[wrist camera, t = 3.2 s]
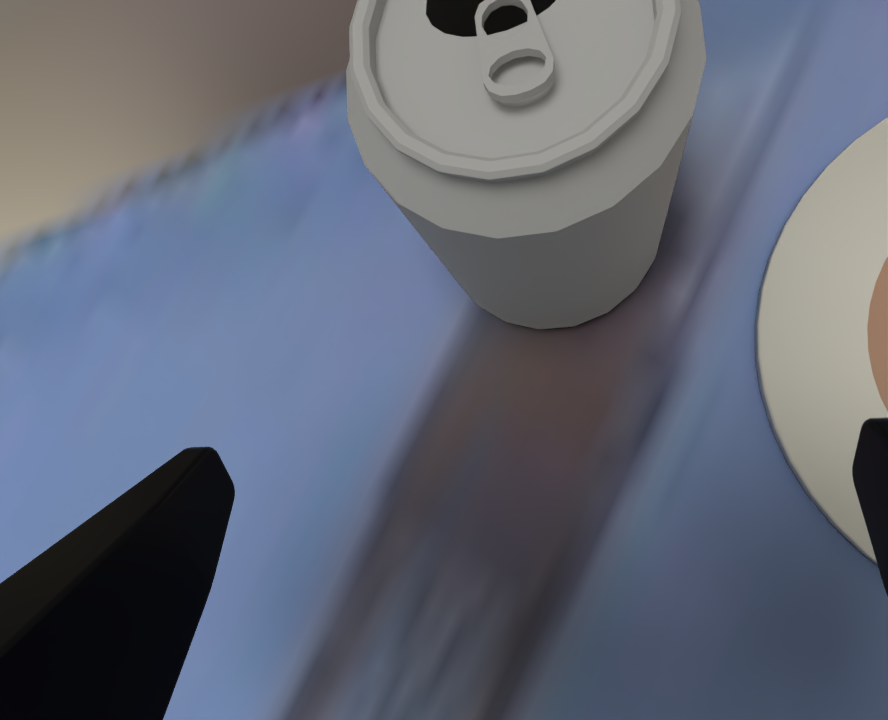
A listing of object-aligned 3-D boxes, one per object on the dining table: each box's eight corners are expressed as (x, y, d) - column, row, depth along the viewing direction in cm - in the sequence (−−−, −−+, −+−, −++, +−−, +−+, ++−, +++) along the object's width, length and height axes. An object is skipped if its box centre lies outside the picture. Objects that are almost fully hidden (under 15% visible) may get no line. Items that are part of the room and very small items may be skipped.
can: (630, 105, 24) (657, -232, 12) (686, 304, 22) (778, 133, 11) (430, 166, 25) (286, -86, 14) (471, 356, 24) (348, 255, 12)
